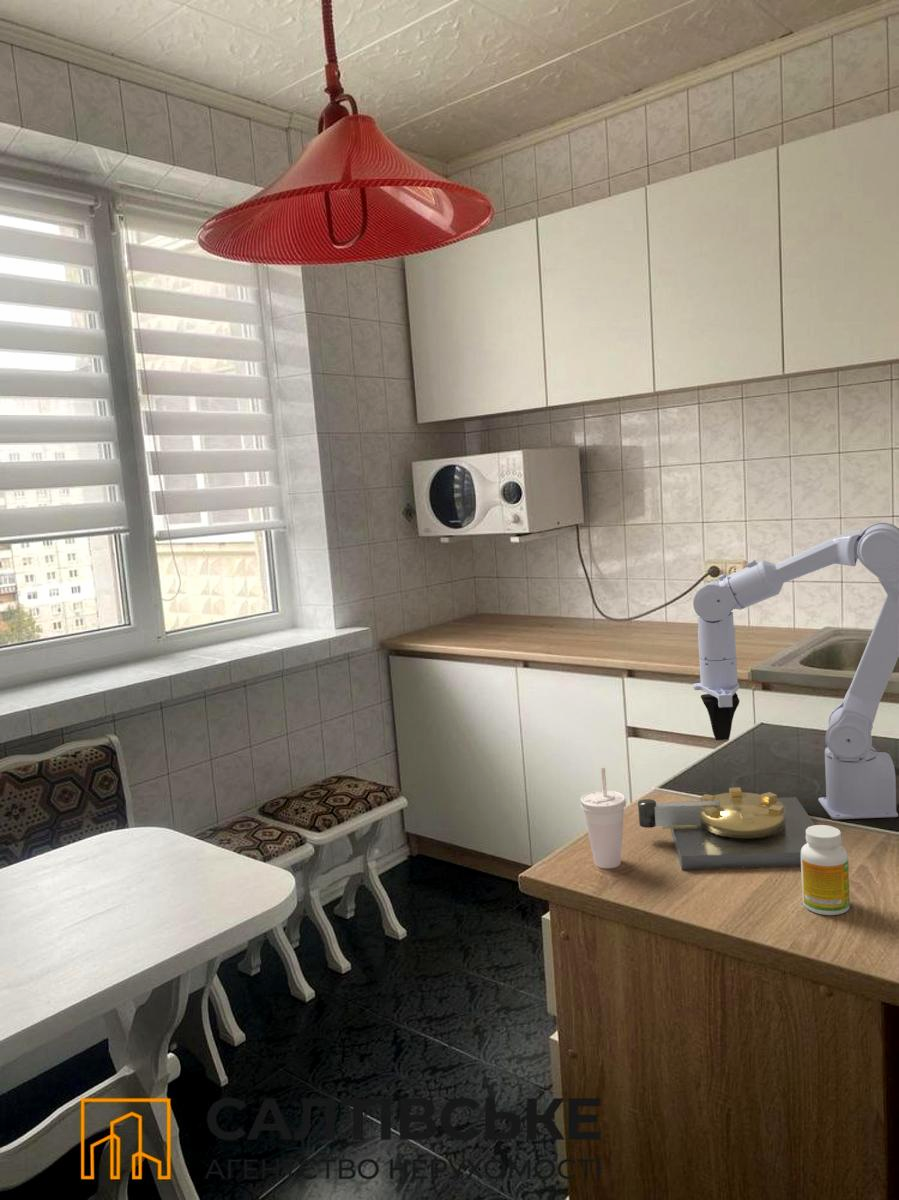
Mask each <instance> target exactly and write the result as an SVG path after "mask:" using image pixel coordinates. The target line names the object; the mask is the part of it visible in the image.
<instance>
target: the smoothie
mask: <svg viewBox="0 0 899 1200" xmlns="http://www.w3.org/2000/svg"><path fill="white" fill-rule="evenodd" d="M600 771H601V785H602V790H595V791H590V792H587V793H585V794H583V795H582V796H581V797H580V808H581V809H583V812H584V813H583V815H584V819H585V823H586V827H587V832H588V838H589V843H590V848H591V852H592V857H593V862H594V863H593V864H594V865H595V867H597V868H601V869H606V870H607V869H615V868H618V867H619V866H620V865H621V863H622V850H623V849H622V848H623V847H622V844H623V833H624V832H623V831H624V829H623V827H624V813H625V811H624V810H625V808H626V805H627V801H626V800H627V799H626V796H625V795H624V794H622V793H621V792H618V791H614V790H607V778H606V777H607V776H606V767H605V766H601V767H600Z"/></svg>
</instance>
